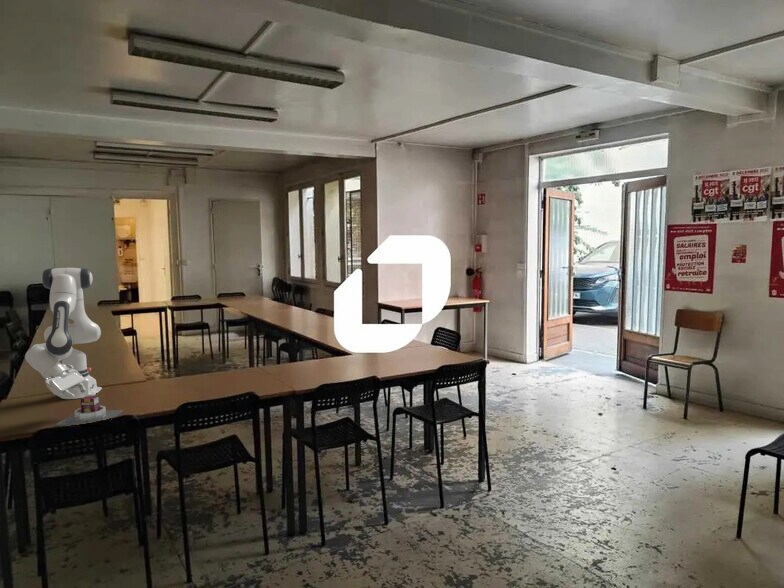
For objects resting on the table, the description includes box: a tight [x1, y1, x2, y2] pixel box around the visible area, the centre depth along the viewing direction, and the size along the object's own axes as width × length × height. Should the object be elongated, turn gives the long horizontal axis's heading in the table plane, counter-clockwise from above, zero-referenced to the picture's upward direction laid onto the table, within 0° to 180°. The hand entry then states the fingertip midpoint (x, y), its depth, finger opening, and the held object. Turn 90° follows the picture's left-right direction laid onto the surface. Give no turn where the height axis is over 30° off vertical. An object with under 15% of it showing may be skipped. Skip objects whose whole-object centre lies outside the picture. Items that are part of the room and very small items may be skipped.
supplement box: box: [80, 395, 100, 413], centre depth 246 cm, size 6×5×9 cm
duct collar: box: [55, 404, 124, 427], centre depth 246 cm, size 20×20×4 cm
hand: (79, 394), depth 246 cm, fingers open, 8 cm apart
